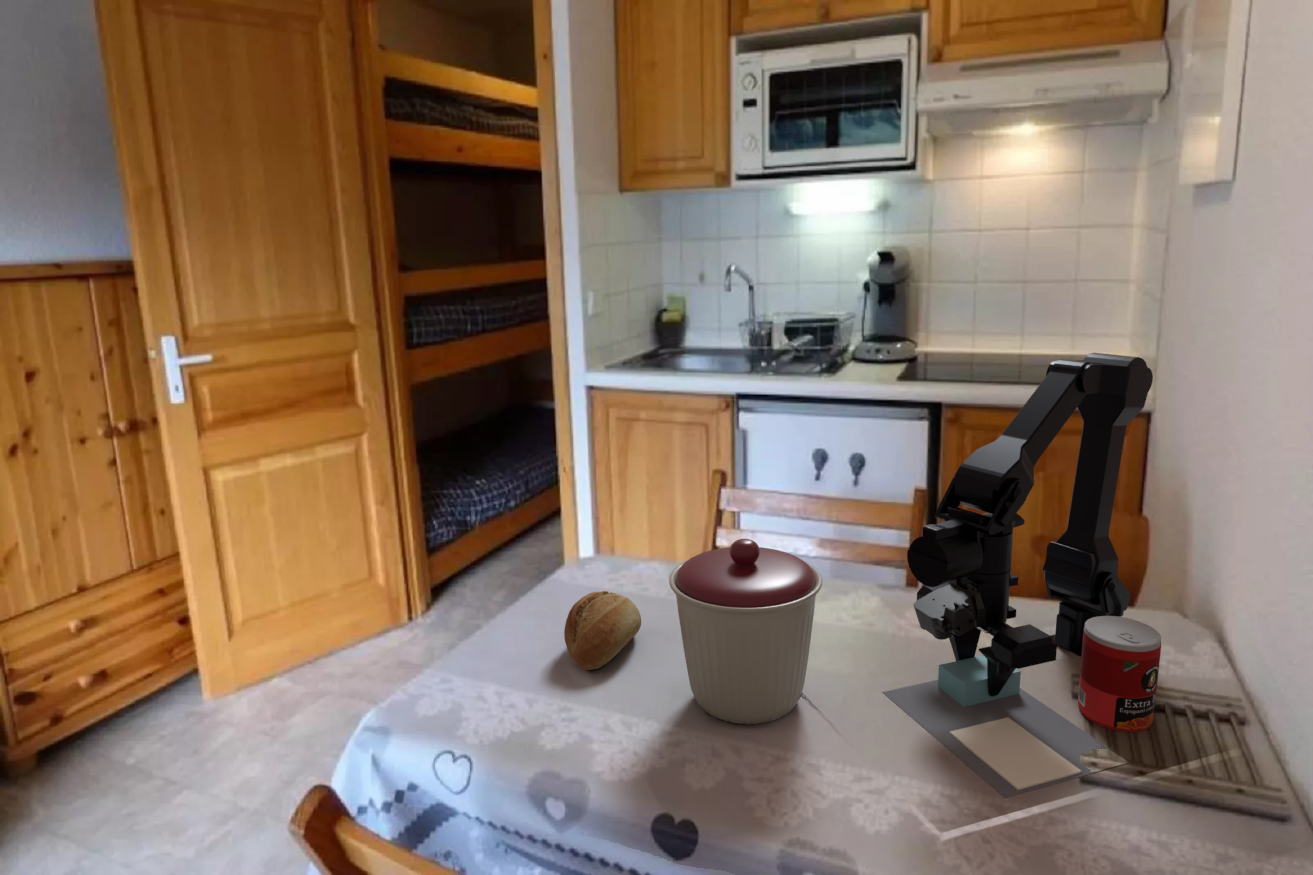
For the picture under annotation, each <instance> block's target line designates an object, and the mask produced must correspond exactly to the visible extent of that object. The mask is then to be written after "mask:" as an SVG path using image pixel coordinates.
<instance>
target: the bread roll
mask: <svg viewBox="0 0 1313 875" xmlns="http://www.w3.org/2000/svg"><path fill="white" fill-rule="evenodd" d="M641 626H642V615H641V613H640V610H639V608H638V607H637V605H636V604H635V603H634V602H633V601H632V599H630V598H629V597H627V596H624V595H621V594H619V593H616V592H609V591H606V590H604V591H592V592H589V593H588V594H586V595H585V596H582V597H581V598H580V599H579V600H578V601H576V602H575V603H574V604H573V605H572V607H571V609H570V610H569V612H568V614H567V617H566V620H565V624H564V633H563V634H564V638H563V639H564V643H565V645H566V649H567V651H568V655H569V656H570V658H571V660H572V661H573V663H575V665H577V666H578V667H579V668H581V669H583V670H587V671H588V670H589V671H590V670H596V669H599V668H601V667H603V666H605V665H606V664H608V663H609V662H610V661H611V660H612V659H613V658H614V657H616V656H617V655H618V654H619V653H620V652H621V650H622V649H623V648H625V646H626V645H627V644H628V643H629V642H630V641H631V640H632V639H633V638H635V636H636V635H637V634H638V633H639V631H640V629H641Z"/></svg>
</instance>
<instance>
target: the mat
mask: <svg viewBox="0 0 1313 875" xmlns="http://www.w3.org/2000/svg"><path fill="white" fill-rule="evenodd" d="M882 693H883V694H884V696H886V698H888V699H889V700H890V701H891V702H893V703H894V704H895V705H896V706H898V707H899V709H901V710H902V711H903V712H904V713H906V714H907V716H909V717H910V718H912V720H913V721H915V722H916V723H917V724H919V726H920V727H922V728H923V729H925V731H926V732H928V733H929V734H930V735H931V736H932V737H933V738H934V739H936V740H937V741H938V742H939V743H940V744H941V745H943V747H945V748H946V749H947V750H949V752H951V753H952V754H953V755H955V757H957V759H959V760H960V761H961V762H962V763H963V764H964V765H966V766H967V767H968V768H969V769H971V771H972V772H974V773H975V774H976V775H977V776H979V778H981V779H982V780H983V781H984V782H986V784H988V785H989V786H991V787H992V789H994V790H995V791H996V792H997V793H998V794H1000V795H1001V796H1002V797H1003V798H1004V799H1007V798H1010V797H1014V796H1017V795H1021V794H1024V793H1028V792H1031V791H1034V790H1038V789H1042V788H1046V787H1050V786H1054V785H1058V784H1059V783H1060V784H1061V783H1064V782H1067V781H1071V780H1075V779H1078V778H1082V777H1085V776H1089V775H1093V774H1094V773H1092V772H1090V771H1091V770H1090V769H1088V768H1087V767H1088V766H1087V767H1086V766H1083V765H1082V764H1080V754H1081V753H1089V752H1090V751H1091V750H1092V749H1111V748H1110V747H1108V746H1107V745H1105V744H1104V743H1102V742H1101V741H1100V740H1098V739H1097V738H1095V737H1093V736H1092V735H1091V734H1089V733H1088V732H1086V731H1084V730H1083V729H1082V728H1080V727H1078V726H1077V725H1075V723H1072V722H1071V721H1070V720H1068V719H1067V718H1066V717H1064V716H1062V715H1061V714H1059V713H1058V712H1056V711H1055V710H1053V709H1052V708H1050V707H1049V706H1048V705H1046V704H1044V702H1041V701H1040V700H1039V699H1037V698H1035V696H1032V695H1031V694H1030V693H1028V692H1026V691H1025V690H1023V689H1022V688H1020V691H1019V694H1016V695H1012V696H1008V697H1003V698H999V699H995V700H991V701H987V702H982V703H978V704H974V705H970V706H965V707H963V706H962V705H961V704H960V703H958V702H957V701H956V700H954V699H953V698H952V697H950V696H949V695H948V694H947V693H945V692H944V691H943V690H941V689H940V688H939V687H938V679H935V680H930V681H926V682H922V683H917V684H912V685H907V686H903V687H899V688H895V689H894V688H893V689H890V690H886V691H882ZM1097 744H1098V745H1097ZM1102 744H1103V745H1102ZM1099 745H1100V746H1099ZM1104 745H1105V746H1104ZM1106 747H1107V748H1106ZM1093 751H1094V750H1093ZM1093 751H1092V752H1093ZM1098 751H1099V750H1098ZM1120 756H1121V757H1123V756H1122V755H1120Z"/></svg>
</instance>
